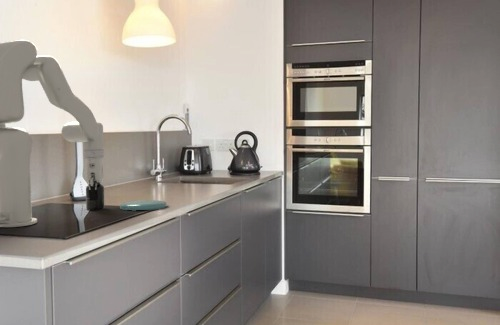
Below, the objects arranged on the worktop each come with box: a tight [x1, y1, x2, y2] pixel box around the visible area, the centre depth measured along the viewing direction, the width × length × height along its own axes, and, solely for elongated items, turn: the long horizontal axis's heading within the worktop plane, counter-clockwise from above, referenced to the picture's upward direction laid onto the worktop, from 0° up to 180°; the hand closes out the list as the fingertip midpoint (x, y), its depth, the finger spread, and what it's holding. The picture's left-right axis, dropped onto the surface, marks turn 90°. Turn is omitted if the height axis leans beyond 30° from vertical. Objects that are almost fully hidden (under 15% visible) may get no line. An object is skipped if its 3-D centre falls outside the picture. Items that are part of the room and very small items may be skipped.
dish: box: [119, 199, 168, 212], centre depth 199 cm, size 18×18×2 cm
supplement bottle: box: [85, 180, 105, 211], centre depth 196 cm, size 7×7×12 cm
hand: (95, 198), depth 196 cm, fingers open, 9 cm apart
